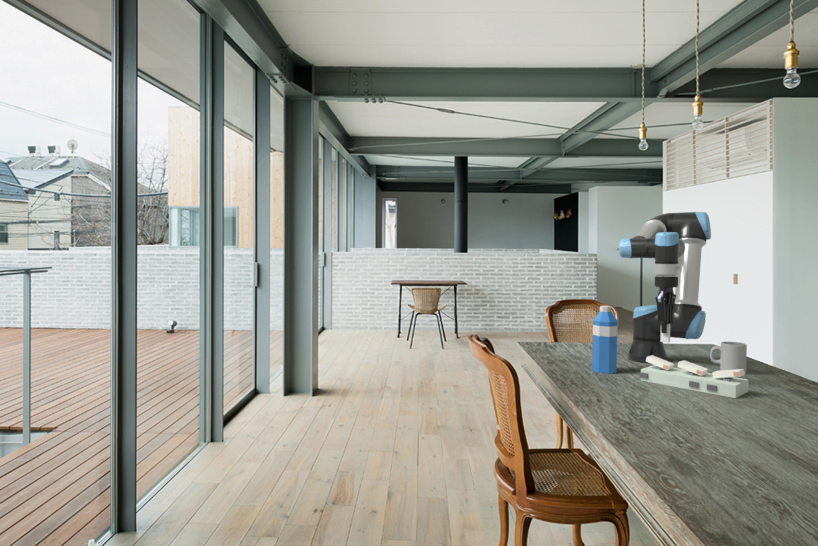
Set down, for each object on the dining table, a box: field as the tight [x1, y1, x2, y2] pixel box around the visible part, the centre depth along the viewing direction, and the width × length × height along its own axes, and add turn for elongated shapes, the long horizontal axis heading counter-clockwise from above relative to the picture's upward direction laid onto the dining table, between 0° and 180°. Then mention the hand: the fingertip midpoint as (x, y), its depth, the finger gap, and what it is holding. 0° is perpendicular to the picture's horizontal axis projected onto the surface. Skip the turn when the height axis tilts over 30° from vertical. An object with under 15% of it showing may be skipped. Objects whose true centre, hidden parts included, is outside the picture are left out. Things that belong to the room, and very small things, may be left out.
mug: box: [709, 341, 748, 375], centre depth 199 cm, size 12×8×11 cm
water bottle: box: [591, 305, 618, 375], centre depth 199 cm, size 9×9×25 cm
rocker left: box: [645, 355, 675, 370], centre depth 186 cm, size 8×5×2 cm, turn 41°
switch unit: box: [639, 364, 749, 399], centre depth 177 cm, size 30×12×5 cm, turn 41°
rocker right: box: [711, 369, 746, 378], centre depth 169 cm, size 8×5×2 cm, turn 40°
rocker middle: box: [676, 359, 709, 376], centre depth 177 cm, size 8×5×2 cm, turn 41°
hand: (665, 341), depth 185 cm, fingers closed
